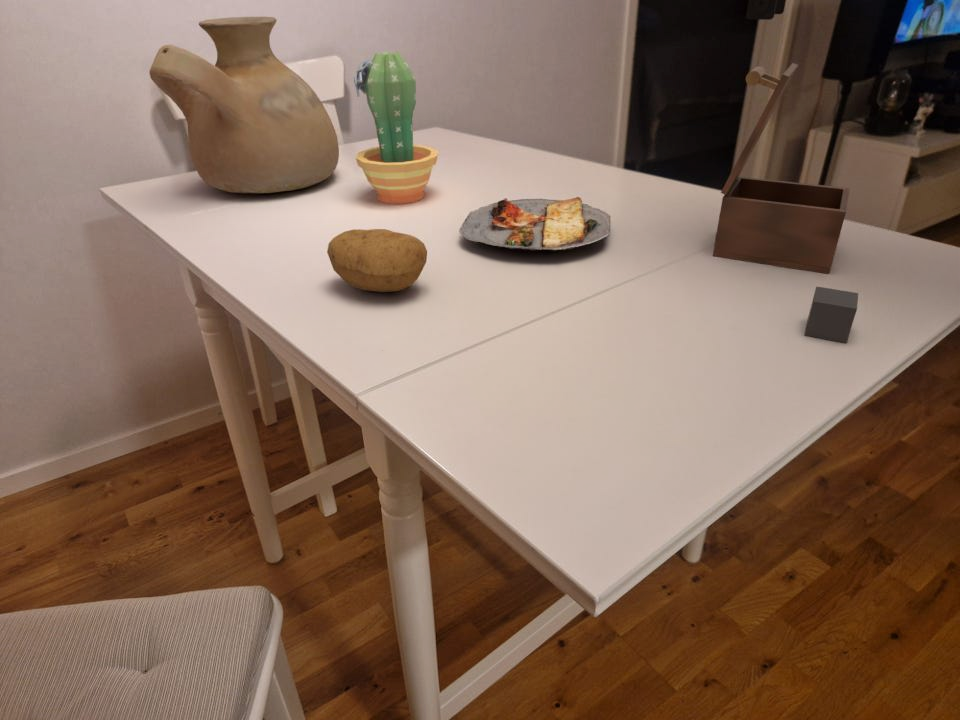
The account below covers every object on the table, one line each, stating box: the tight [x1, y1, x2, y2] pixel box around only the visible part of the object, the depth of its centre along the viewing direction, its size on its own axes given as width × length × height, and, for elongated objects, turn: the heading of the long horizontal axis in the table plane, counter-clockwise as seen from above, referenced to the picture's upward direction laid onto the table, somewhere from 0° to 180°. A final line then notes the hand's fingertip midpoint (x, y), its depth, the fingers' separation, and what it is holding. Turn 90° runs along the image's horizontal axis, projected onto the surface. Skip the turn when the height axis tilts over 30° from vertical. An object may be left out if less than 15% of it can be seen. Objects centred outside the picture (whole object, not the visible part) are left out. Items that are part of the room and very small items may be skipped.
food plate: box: [458, 196, 612, 252], centre depth 105 cm, size 25×23×4 cm
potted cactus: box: [353, 51, 439, 205], centre depth 119 cm, size 15×15×25 cm
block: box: [804, 286, 859, 344], centre depth 75 cm, size 4×4×4 cm
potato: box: [326, 228, 428, 293], centre depth 87 cm, size 10×14×8 cm
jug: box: [148, 16, 340, 194], centre depth 126 cm, size 29×34×30 cm
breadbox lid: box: [720, 62, 799, 196], centre depth 92 cm, size 16×12×5 cm
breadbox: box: [712, 176, 851, 275], centre depth 96 cm, size 16×12×9 cm
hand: (765, 16), depth 85 cm, fingers open, 9 cm apart
